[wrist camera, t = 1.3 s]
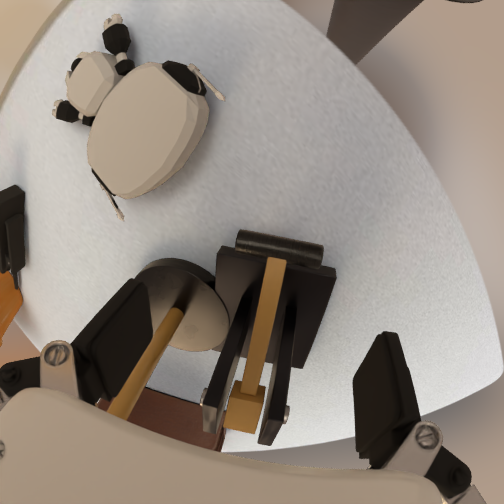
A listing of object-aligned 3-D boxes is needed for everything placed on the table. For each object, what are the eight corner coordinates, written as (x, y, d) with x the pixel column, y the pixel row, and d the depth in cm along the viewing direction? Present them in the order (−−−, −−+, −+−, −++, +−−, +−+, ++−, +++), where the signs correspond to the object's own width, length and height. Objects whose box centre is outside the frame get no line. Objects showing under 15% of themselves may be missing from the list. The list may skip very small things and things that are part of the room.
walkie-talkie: (-18, 205, 20) (-4, 307, 30) (24, 208, 24) (27, 308, 34) (-7, 179, 23) (-1, 279, 33) (30, 182, 28) (27, 280, 37)
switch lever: (242, 229, 18) (236, 228, 15) (320, 244, 17) (326, 245, 15) (211, 404, 19) (202, 422, 16) (276, 418, 18) (274, 438, 16)
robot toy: (68, 112, 21) (151, 212, 24) (35, 116, 17) (120, 230, 20) (136, 13, 16) (247, 108, 18) (104, 1, 12) (228, 103, 14)
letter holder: (226, 434, 42) (206, 500, 30) (127, 402, 44) (97, 458, 32) (227, 410, 37) (202, 490, 25) (114, 373, 40) (75, 436, 27)
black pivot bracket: (221, 245, 24) (155, 353, 13) (335, 268, 23) (347, 395, 12) (215, 340, 30) (175, 438, 19) (303, 359, 29) (292, 465, 18)
